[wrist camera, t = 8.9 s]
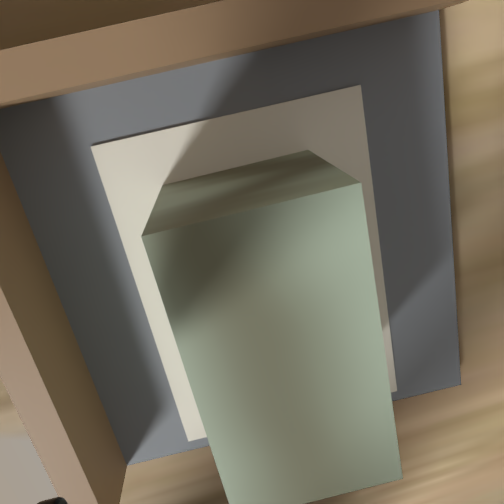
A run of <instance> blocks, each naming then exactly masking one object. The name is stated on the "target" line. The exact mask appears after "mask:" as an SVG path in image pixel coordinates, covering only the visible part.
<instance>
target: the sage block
mask: <svg viewBox="0 0 504 504" xmlns="http://www.w3.org/2000/svg"><path fill="white" fill-rule="evenodd" d="M141 238H142V241H143V244H144V247H145V250H146V253H147V256H148V259H149V262H150V265H151V268H152V271H153V274H154V277H155V280H156V283H157V286H158V289H159V292H160V295H161V298H162V301H163V305H164V308H165V311H166V314H167V317H168V320H169V323H170V326H171V329H172V332H173V335H174V338H175V341H176V344H177V347H178V350H179V353H180V356H181V359H182V362H183V365H184V368H185V371H186V374H187V378H188V381H189V384H190V387H191V390H192V393H193V396H194V399H195V402H196V405H197V408H198V411H199V414H200V417H201V420H202V423H203V426H204V429H205V432H206V435H207V438H208V441H209V444H210V447H211V450H212V454H213V457H214V460H215V463H216V466H217V469H218V472H219V475H220V478H221V481H222V484H223V487H224V490H225V493H226V496H227V499H228V502H229V504H306V503H309V502H313V501H317V500H321V499H325V498H329V497H333V496H337V495H341V494H345V493H349V492H353V491H356V490H360V489H364V488H368V487H372V486H376V485H380V484H384V483H388V482H392V481H396V480H400V479H403V476H402V469H401V462H400V455H399V448H398V441H397V434H396V426H395V419H394V412H393V405H392V398H391V391H390V384H389V377H388V370H387V362H386V355H385V348H384V341H383V334H382V327H381V320H380V313H379V305H378V298H377V291H376V284H375V277H374V270H373V263H372V256H371V249H370V241H369V234H368V227H367V220H366V213H365V206H364V199H363V192H362V185H361V182H359V181H358V180H356V179H355V178H353V177H351V176H350V175H348V174H347V173H345V172H343V171H342V170H340V169H338V168H337V167H335V166H334V165H332V164H330V163H329V162H327V161H326V160H324V159H322V158H321V157H319V156H317V155H316V154H314V153H313V152H311V151H309V150H305V151H301V152H297V153H293V154H289V155H284V156H280V157H276V158H272V159H268V160H264V161H260V162H256V163H252V164H247V165H243V166H239V167H235V168H231V169H227V170H223V171H219V172H215V173H210V174H206V175H202V176H198V177H194V178H190V179H186V180H182V181H178V182H173V183H169V184H165V185H162V187H161V190H160V192H159V194H158V197H157V199H156V202H155V204H154V207H153V209H152V211H151V214H150V216H149V219H148V221H147V223H146V226H145V228H144V231H143V233H142V236H141Z"/></svg>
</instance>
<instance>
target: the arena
mask: <svg viewBox="0 0 504 504" xmlns="http://www.w3.org/2000/svg"><path fill="white" fill-rule="evenodd" d="M465 1H468V0H222V1H218V2H213V3H209V4H204V5H200V6H195V7H191V8H186V9H182V10H178V11H173V12H169V13H164V14H160V15H155V16H151V17H146V18H142V19H137V20H133V21H128V22H124V23H119V24H115V25H110V26H106V27H101V28H97V29H92V30H88V31H84V32H79V33H75V34H70V35H66V36H61V37H57V38H52V39H48V40H43V41H39V42H34V43H30V44H25V45H21V46H16V47H12V48H7V49H3V50H0V377H1V379H2V382H3V384H4V386H5V388H6V390H7V392H8V394H9V396H10V398H11V400H12V402H13V404H14V406H15V408H16V410H17V412H18V414H19V416H20V418H21V420H22V423H23V425H24V427H25V429H26V431H27V433H28V435H29V437H30V439H31V441H32V443H33V445H34V447H35V449H36V451H37V453H38V455H39V457H40V459H41V461H42V463H43V465H44V467H45V470H46V472H47V474H48V476H49V478H50V480H51V482H52V484H53V486H54V488H55V490H56V492H57V494H58V496H59V497H63V498H64V499H65V500H66V501H67V503H68V504H119V502H120V497H121V492H122V487H123V482H124V478H125V473H126V468H127V465H131V464H135V463H140V462H144V461H148V460H152V459H156V458H160V457H164V456H168V455H173V454H177V453H181V452H185V451H189V450H193V449H197V448H201V447H206V446H210V444H209V441H208V438H207V435H206V432H205V429H204V426H203V423H202V420H201V417H200V414H199V411H198V408H197V405H196V402H195V399H194V396H193V393H192V390H191V387H190V384H189V381H188V378H187V374H186V371H185V368H184V365H183V362H182V359H181V356H180V353H179V350H178V347H177V344H176V341H175V338H174V335H173V332H172V329H171V326H170V323H169V320H168V317H167V314H166V311H165V308H164V305H163V301H162V298H161V295H160V292H159V289H158V286H157V283H156V280H155V277H154V274H153V271H152V268H151V265H150V262H149V259H148V256H147V253H146V250H145V247H144V244H143V241H142V238H141V236H142V233H143V231H144V228H145V226H146V223H147V221H148V219H149V216H150V214H151V211H152V209H153V207H154V204H155V202H156V199H157V197H158V194H159V192H160V190H161V187H162V185H165V184H169V183H173V182H178V181H182V180H186V179H190V178H194V177H198V176H202V175H206V174H210V173H215V172H219V171H223V170H227V169H231V168H235V167H239V166H243V165H247V164H252V163H256V162H260V161H264V160H268V159H272V158H276V157H280V156H284V155H289V154H293V153H297V152H301V151H305V150H309V151H311V152H313V153H314V154H316V155H317V156H319V157H321V158H322V159H324V160H326V161H327V162H329V163H330V164H332V165H334V166H335V167H337V168H338V169H340V170H342V171H343V172H345V173H347V174H348V175H350V176H351V177H353V178H355V179H356V180H358V181H359V182H361V185H362V192H363V199H364V206H365V213H366V220H367V227H368V234H369V241H370V249H371V256H372V263H373V270H374V277H375V284H376V291H377V298H378V305H379V313H380V320H381V327H382V334H383V341H384V348H385V355H386V362H387V370H388V377H389V384H390V391H391V398H392V401H395V400H399V399H404V398H408V397H412V396H416V395H420V394H424V393H428V392H432V391H437V390H441V389H445V388H449V387H453V386H457V385H461V376H460V359H459V342H458V325H457V308H456V291H455V274H454V257H453V240H452V223H451V206H450V189H449V172H448V155H447V138H446V121H445V104H444V87H443V70H442V53H441V36H440V19H439V10H440V9H443V8H447V7H450V6H453V5H456V4H459V3H462V2H465Z"/></svg>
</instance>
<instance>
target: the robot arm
mask: <svg viewBox="0 0 504 504" xmlns="http://www.w3.org/2000/svg"><path fill="white" fill-rule="evenodd" d="M37 504H68V503H67V501H66V500H65V499H64V498H63V497H57V498H52V499H49V500H44V501H41V502H39V503H37Z"/></svg>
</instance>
